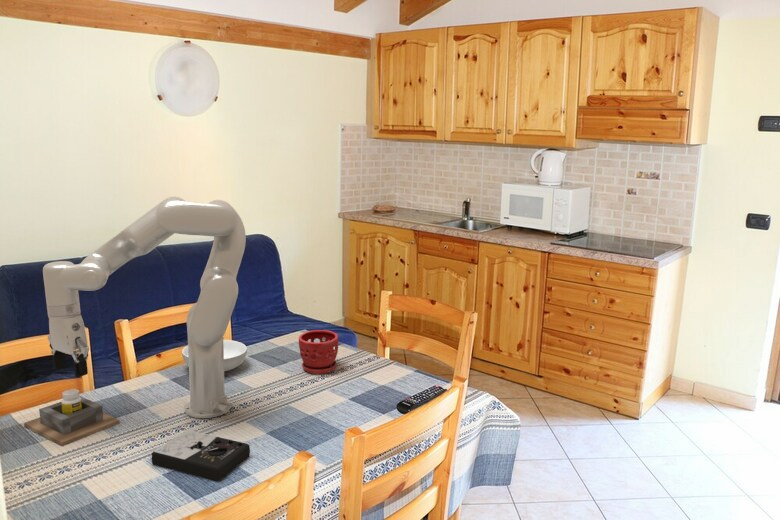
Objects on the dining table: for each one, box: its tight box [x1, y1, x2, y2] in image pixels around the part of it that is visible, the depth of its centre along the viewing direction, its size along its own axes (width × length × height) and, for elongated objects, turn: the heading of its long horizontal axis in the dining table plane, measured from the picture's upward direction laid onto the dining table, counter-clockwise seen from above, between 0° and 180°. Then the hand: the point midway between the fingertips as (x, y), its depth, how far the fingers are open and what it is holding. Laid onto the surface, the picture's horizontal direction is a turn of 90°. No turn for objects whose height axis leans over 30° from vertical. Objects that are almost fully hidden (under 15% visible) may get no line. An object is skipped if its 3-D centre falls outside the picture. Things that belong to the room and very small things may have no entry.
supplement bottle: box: [60, 388, 82, 415], centre depth 169 cm, size 5×5×8 cm
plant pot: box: [298, 329, 339, 375], centre depth 213 cm, size 13×13×12 cm
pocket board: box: [23, 395, 121, 447], centre depth 170 cm, size 18×16×5 cm
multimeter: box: [151, 429, 251, 482], centre depth 154 cm, size 13×19×5 cm
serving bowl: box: [181, 339, 248, 373], centre depth 213 cm, size 21×21×7 cm
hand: (71, 371), depth 168 cm, fingers open, 9 cm apart
